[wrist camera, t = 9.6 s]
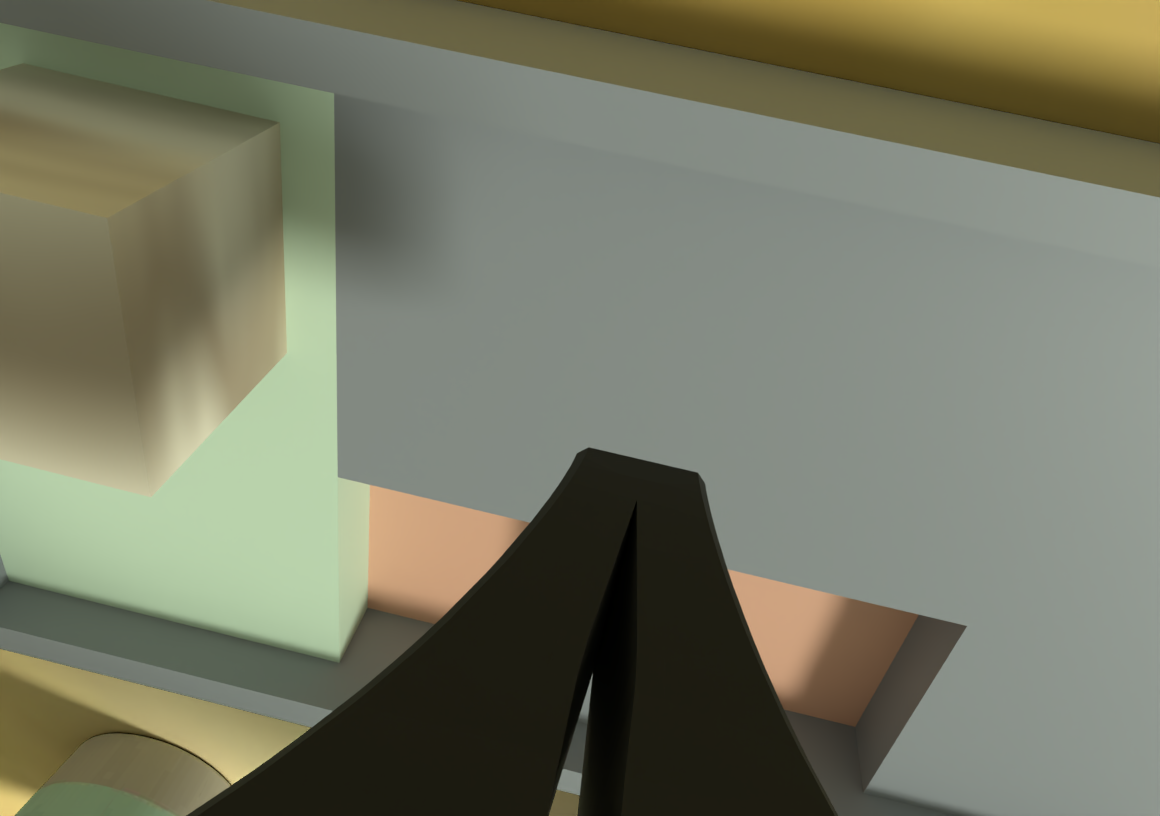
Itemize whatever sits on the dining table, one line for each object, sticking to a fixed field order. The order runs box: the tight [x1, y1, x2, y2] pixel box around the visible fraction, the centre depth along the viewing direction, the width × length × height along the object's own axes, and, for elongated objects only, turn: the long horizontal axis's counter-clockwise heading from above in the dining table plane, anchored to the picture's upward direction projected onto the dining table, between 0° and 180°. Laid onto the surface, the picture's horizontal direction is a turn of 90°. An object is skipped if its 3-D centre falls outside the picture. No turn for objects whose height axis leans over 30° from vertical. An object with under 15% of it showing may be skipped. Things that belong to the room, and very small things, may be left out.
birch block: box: [0, 63, 287, 497], centre depth 12 cm, size 4×4×4 cm
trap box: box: [0, 0, 1160, 816], centre depth 15 cm, size 15×27×3 cm, turn 81°
